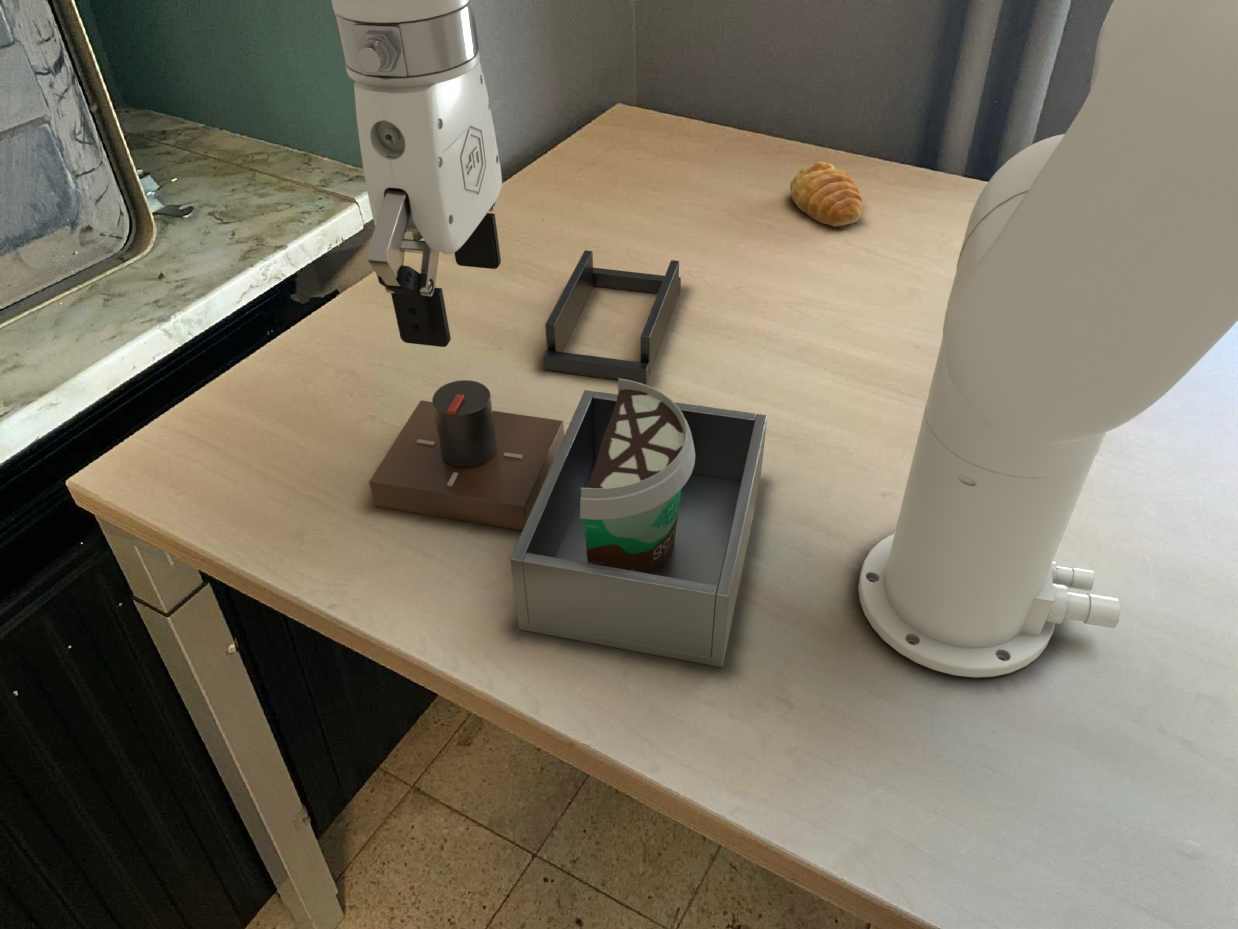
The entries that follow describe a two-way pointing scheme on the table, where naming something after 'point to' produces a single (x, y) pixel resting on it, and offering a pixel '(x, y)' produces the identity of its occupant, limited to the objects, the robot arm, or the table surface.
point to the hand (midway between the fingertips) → (454, 301)
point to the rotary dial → (468, 471)
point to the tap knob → (465, 423)
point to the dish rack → (574, 303)
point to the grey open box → (694, 573)
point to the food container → (637, 481)
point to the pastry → (827, 194)
